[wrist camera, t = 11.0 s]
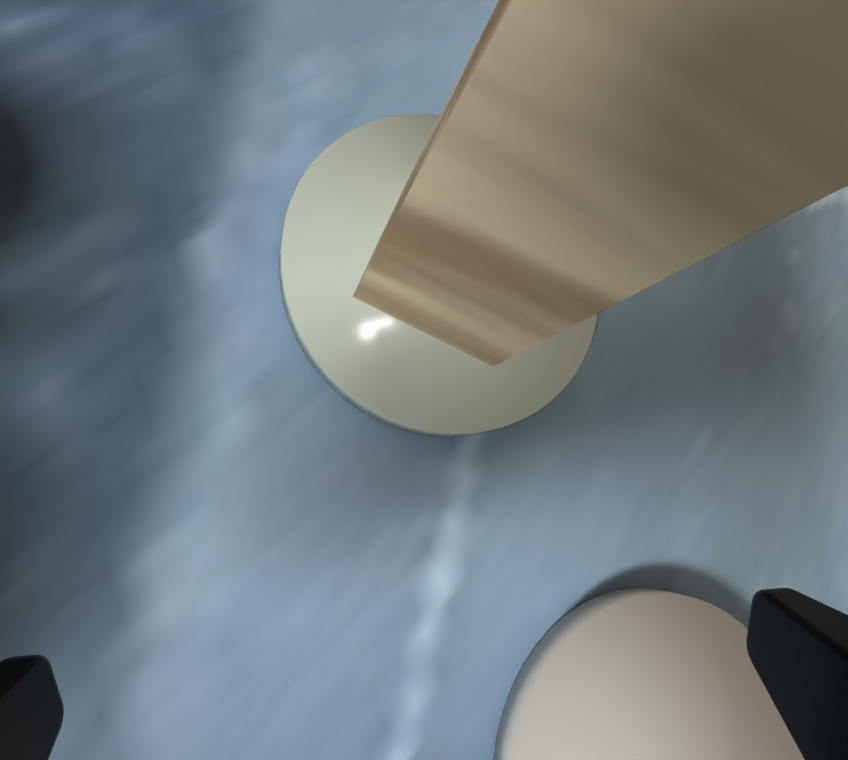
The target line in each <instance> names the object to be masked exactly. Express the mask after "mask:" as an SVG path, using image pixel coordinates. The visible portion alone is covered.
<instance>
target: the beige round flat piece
mask: <svg viewBox="0 0 848 760" xmlns="http://www.w3.org/2000/svg"><path fill="white" fill-rule="evenodd" d="M439 116H440V115H435V114H406V115H396V116H391V117H387V118H383V119H379V120H374V121H372V122H369V123H367V124H365V125H362V126H360V127H357V128H355V129H353V130H352V131H350V132H348V133H347V134H345V135H343V136H341V137H340V138H338V139H337V140H336V141H335V142H333V143H332V144H331V145H330V146H328V147H327V148H326V149H325V150H324V151H323V152H322V153H321V154H320V155H319V156H318V157H317V158H316V159H315V160H314V162H313V163H312V164H311V165H310V166H309V168H308V169H307V171H306V172H305V174H304V175H303V177H302V178H301V180H300V181H299V183H298V185H297V188H296V190H295V192H294V194H293V196H292V199H291V201H290V204H289V208H288V211H287V215H286V218H285V222H284V228H283V236H282V243H281V251H280V259H279V266H280V286H281V292H282V298H283V304H284V307H285V310H286V313H287V317H288V320H289V323H290V326H291V328H292V330H293V332H294V334H295V337H296V339H297V341H298V343H299V345H300V347H301V348H302V350H303V352H304V353H305V355H306V356H307V358H308V360H309V361H310V363H311V364H312V366H313V367H314V368H315V369H316V370H317V372H318V373H319V374H320V375H321V376H322V378H323V379H324V380H325V381H326V382H327V383H328V384H329V385H330V386H331V387H332V388H333V389H334V390H335V391H336V392H337V393H338V394H339V395H340V396H341V397H343V398H344V399H345V400H347V401H348V402H349V403H351V404H352V405H354V406H355V407H356V408H358V409H359V410H360V411H362V412H364V413H366V414H368V415H369V416H371V417H373V418H375V419H377V420H379V421H381V422H383V423H386V424H388V425H391V426H393V427H396V428H399V429H401V430H405V431H409V432H414V433H418V434H422V435H432V436H442V437H447V436H466V435H471V434H477V433H482V432H486V431H490V430H494V429H498V428H501V427H504V426H507V425H510V424H513V423H516V422H518V421H520V420H522V419H524V418H526V417H528V416H530V415H532V414H534V413H536V412H537V411H538V410H540V409H541V408H543V407H544V406H545V405H547V404H548V403H550V402H551V401H552V400H553V399H554V398H555V397H556V396H557V395H558V394H559V393H560V392H561V391H562V390H563V389H564V388H565V387H566V386H567V384H568V383H569V382H570V381H571V379H572V378H573V377H574V375H575V374H576V373H577V371H578V369H579V367H580V365H581V364H582V362H583V360H584V358H585V356H586V354H587V351H588V349H589V346H590V344H591V341H592V338H593V334H594V330H595V326H596V322H597V314H598V313H597V314H595V315H593V316H591V317H589V318H587V319H585V320H583V321H581V322H579V323H577V324H576V325H574V326H572V327H570V328H568V329H566V330H564V331H562V332H560V333H558V334H556V335H554V336H552V337H550V338H548V339H546V340H544V341H542V342H540V343H538V344H536V345H534V346H533V347H531V348H529V349H527V350H525V351H523V352H521V353H519V354H517V355H515V356H513V357H511V358H509V359H507V360H505V361H503V362H501V363H499V364H497V365H495V366H491V365H489V364H487V363H485V362H483V361H480V360H478V359H476V358H474V357H472V356H470V355H468V354H466V353H464V352H462V351H460V350H458V349H456V348H454V347H452V346H450V345H448V344H446V343H444V342H442V341H440V340H438V339H436V338H434V337H432V336H430V335H428V334H426V333H424V332H422V331H420V330H418V329H416V328H414V327H412V326H410V325H408V324H406V323H404V322H402V321H400V320H398V319H396V318H394V317H392V316H390V315H388V314H386V313H384V312H382V311H380V310H378V309H376V308H374V307H372V306H370V305H368V304H366V303H364V302H362V301H360V300H358V299H356V298H354V297H352V296H353V294H354V292H355V290H356V288H357V286H358V284H359V282H360V279H361V277H362V275H363V273H364V271H365V269H366V267H367V265H368V262H369V260H370V258H371V256H372V254H373V252H374V250H375V248H376V245H377V243H378V241H379V239H380V237H381V235H382V233H383V231H384V228H385V226H386V224H387V222H388V220H389V218H390V216H391V214H392V211H393V209H394V207H395V205H396V203H397V201H398V199H399V197H400V194H401V192H402V190H403V188H404V186H405V184H406V182H407V180H408V177H409V175H410V173H411V171H412V169H413V167H414V165H415V163H416V161H417V159H418V157H419V155H420V153H421V152H422V150H423V148H424V146H425V144H426V142H427V140H428V138H429V136H430V134H431V132H432V130H433V128H434V126H435V124H436V122H437V120H438V118H439Z"/></svg>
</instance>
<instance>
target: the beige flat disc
mask: <svg viewBox="0 0 848 760" xmlns="http://www.w3.org/2000/svg"><path fill="white" fill-rule="evenodd" d="M747 632H748V629H747V628H746V627H745V626H744V625H743V624H742V623H741V622H739V621H738V620H737V619H735V618H734V617H733V616H731V615H730V614H728V613H727V612H725V611H724V610H722V609H720V608H718V607H716V606H714V605H713V604H711V603H708V602H705V601H702V600H700V599H697V598H694V597H690V596H686V595H681V594H677V593H673V592H669V591H663V590H658V589H653V588H629V589H622V590H615V591H612V592H609V593H606V594H603V595H599V596H597V597H595V598H593V599H591V600H589V601H587V602H585V603H583V604H581V605H579V606H578V607H576V608H575V609H574V610H572V611H571V612H569V613H568V614H566V615H565V616H564V617H563V618H562V619H560V620H559V621H558V622H557V623H556V624H555V625H554V626H553V627H552V628H551V629H550V630H549V631H548V632H547V633H546V634H545V635H544V637H543V638H542V639H541V640H540V641H539V643H538V644H537V645H536V646H535V647H534V649H533V651H532V652H531V654H530V655H529V657H528V658H527V660H526V661H525V663H524V664H523V666H522V668H521V670H520V672H519V674H518V676H517V678H516V680H515V682H514V684H513V686H512V688H511V691H510V693H509V696H508V699H507V701H506V704H505V707H504V710H503V713H502V717H501V721H500V725H499V729H498V733H497V737H496V744H495V751H494V758H493V760H804V759H803V757H802V755H801V753H800V751H799V749H798V748H797V746H796V744H795V742H794V740H793V738H792V736H791V735H790V733H789V731H788V729H787V727H786V725H785V724H784V722H783V720H782V718H781V716H780V714H779V712H778V711H777V709H776V707H775V705H774V703H773V701H772V699H771V698H770V696H769V694H768V692H767V690H766V688H765V687H764V685H763V683H762V681H761V679H760V677H759V675H758V674H757V672H756V670H755V668H754V666H753V664H752V662H751V660H750V658H749V655H748V651H747V645H746V638H747Z"/></svg>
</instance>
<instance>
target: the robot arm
mask: <svg viewBox="0 0 848 760" xmlns="http://www.w3.org/2000/svg"><path fill="white" fill-rule="evenodd" d="M746 645H747V651H748V655H749V658H750V660H751V662H752V664H753V666H754V668H755V670H756V672H757V674H758V675H759V677H760V679H761V681H762V683H763V685H764V687H765V688H766V690H767V692H768V694H769V696H770V698H771V699H772V701H773V703H774V705H775V707H776V709H777V711H778V712H779V714H780V716H781V718H782V720H783V722H784V724H785V725H786V727H787V729H788V731H789V733H790V735H791V736H792V738H793V740H794V742H795V744H796V746H797V748H798V749H799V751H800V753H801V755H802V757H803V759H804V760H848V615H846V614H844V613H842V612H840V611H838V610H836V609H833V608H831V607H829V606H827V605H825V604H823V603H821V602H819V601H816V600H814V599H812V598H810V597H808V596H806V595H804V594H801V593H799V592H797V591H795V590H793V589H789V588H777V589H766V590H760V591H758V592H756V593H755V595H754V596H753V599H752V604H751V611H750V618H749V625H748V632H747V638H746ZM63 714H64V710H63V702H62V699H61V696H60V693H59V690H58V686H57V683H56V680H55V677H54V674H53V671H52V667H51V664H50V662H49V660H48V659H47V658H46V657H45V656H42V655H28V656H17V657H11V658H7V659H5V660H3V661H1V662H0V760H48V759H49V756H50V754H51V751H52V749H53V746H54V744H55V741H56V739H57V736H58V734H59V731H60V728H61V725H62V721H63Z"/></svg>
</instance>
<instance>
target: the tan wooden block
mask: <svg viewBox="0 0 848 760" xmlns="http://www.w3.org/2000/svg"><path fill="white" fill-rule="evenodd" d="M847 185H848V0H499V1H498V3H497V5H496V7H495V9H494V11H493V13H492V15H491V17H490V19H489V21H488V23H487V25H486V27H485V29H484V31H483V33H482V35H481V37H480V38H479V40H478V42H477V44H476V46H475V48H474V50H473V52H472V54H471V56H470V58H469V60H468V62H467V64H466V66H465V68H464V70H463V72H462V74H461V75H460V77H459V79H458V81H457V83H456V85H455V87H454V89H453V91H452V93H451V95H450V97H449V99H448V101H447V103H446V105H445V107H444V109H443V111H442V113H441V114H440V116H439V118H438V120H437V122H436V124H435V126H434V128H433V130H432V132H431V134H430V136H429V138H428V140H427V142H426V144H425V146H424V148H423V150H422V152H421V153H420V155H419V157H418V159H417V161H416V163H415V165H414V167H413V169H412V171H411V173H410V175H409V177H408V180H407V182H406V184H405V186H404V188H403V190H402V192H401V194H400V197H399V199H398V201H397V203H396V205H395V207H394V209H393V211H392V214H391V216H390V218H389V220H388V222H387V224H386V226H385V228H384V231H383V233H382V235H381V237H380V239H379V241H378V243H377V245H376V248H375V250H374V252H373V254H372V256H371V258H370V260H369V262H368V265H367V267H366V269H365V271H364V273H363V275H362V277H361V279H360V282H359V284H358V286H357V288H356V290H355V292H354V294H353V296H352V297H354V298H356V299H358V300H360V301H362V302H364V303H366V304H368V305H370V306H372V307H374V308H376V309H378V310H380V311H382V312H384V313H386V314H388V315H390V316H392V317H394V318H396V319H398V320H400V321H402V322H404V323H406V324H408V325H410V326H412V327H414V328H416V329H418V330H420V331H422V332H424V333H426V334H428V335H430V336H432V337H434V338H436V339H438V340H440V341H442V342H444V343H446V344H448V345H450V346H452V347H454V348H456V349H458V350H460V351H462V352H464V353H466V354H468V355H470V356H472V357H474V358H476V359H478V360H480V361H483V362H485V363H487V364H489V365H491V366H495V365H497V364H499V363H501V362H503V361H505V360H507V359H509V358H511V357H513V356H515V355H517V354H519V353H521V352H523V351H525V350H527V349H529V348H531V347H533V346H534V345H536V344H538V343H540V342H542V341H544V340H546V339H548V338H550V337H552V336H554V335H556V334H558V333H560V332H562V331H564V330H566V329H568V328H570V327H572V326H574V325H576V324H577V323H579V322H581V321H583V320H585V319H587V318H589V317H591V316H593V315H595V314H597V313H599V312H601V311H603V310H605V309H607V308H609V307H611V306H613V305H615V304H617V303H618V302H620V301H622V300H624V299H626V298H628V297H630V296H632V295H634V294H636V293H638V292H640V291H642V290H644V289H646V288H648V287H650V286H652V285H654V284H656V283H658V282H660V281H661V280H663V279H665V278H667V277H669V276H671V275H673V274H675V273H677V272H679V271H681V270H683V269H685V268H687V267H689V266H691V265H693V264H695V263H697V262H699V261H701V260H703V259H704V258H706V257H708V256H710V255H712V254H714V253H716V252H718V251H720V250H722V249H724V248H726V247H728V246H730V245H732V244H734V243H736V242H738V241H740V240H742V239H744V238H746V237H747V236H749V235H751V234H753V233H755V232H757V231H759V230H761V229H763V228H765V227H767V226H769V225H771V224H773V223H775V222H777V221H779V220H781V219H783V218H785V217H787V216H789V215H790V214H792V213H794V212H796V211H798V210H800V209H802V208H804V207H806V206H808V205H810V204H812V203H814V202H816V201H818V200H820V199H822V198H824V197H826V196H828V195H830V194H832V193H833V192H835V191H837V190H839V189H841V188H843V187H845V186H847Z"/></svg>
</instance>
